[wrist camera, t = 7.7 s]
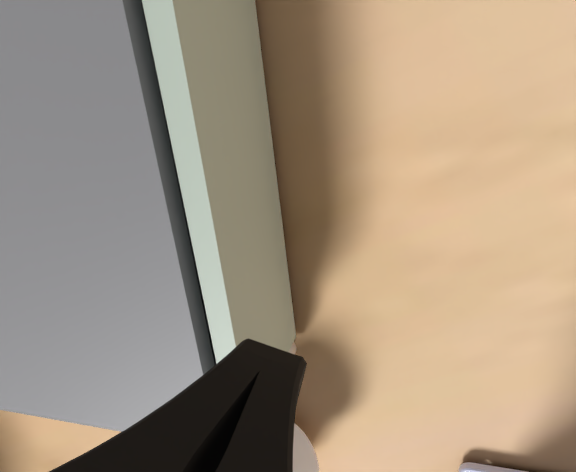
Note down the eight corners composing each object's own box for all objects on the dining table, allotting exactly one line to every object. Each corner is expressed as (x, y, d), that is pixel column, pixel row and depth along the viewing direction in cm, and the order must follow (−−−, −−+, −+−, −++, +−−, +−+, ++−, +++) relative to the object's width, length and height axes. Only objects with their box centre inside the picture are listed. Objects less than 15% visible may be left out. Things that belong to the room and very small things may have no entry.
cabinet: (194, -228, 15) (51, -330, 10) (274, 344, 23) (219, 449, 18) (-108, -148, 19) (-325, -192, 14) (55, 320, 27) (-42, 402, 22)
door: (300, 351, 23) (256, 448, 18) (278, 349, 23) (230, 444, 18) (233, -205, 15) (124, -285, 10) (201, -197, 15) (82, -271, 10)
